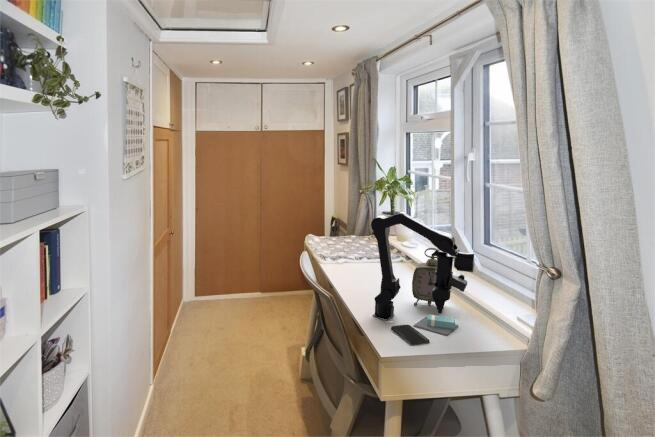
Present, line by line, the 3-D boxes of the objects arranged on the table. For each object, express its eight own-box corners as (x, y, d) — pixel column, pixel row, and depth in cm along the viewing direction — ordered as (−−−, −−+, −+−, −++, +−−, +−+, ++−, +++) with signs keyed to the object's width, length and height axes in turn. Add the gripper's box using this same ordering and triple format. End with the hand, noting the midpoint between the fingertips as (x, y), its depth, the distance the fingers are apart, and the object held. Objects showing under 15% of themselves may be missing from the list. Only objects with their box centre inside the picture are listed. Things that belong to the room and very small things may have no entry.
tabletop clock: (410, 307, 189) (414, 248, 185) (412, 300, 198) (416, 244, 194) (446, 312, 185) (451, 252, 181) (447, 304, 193) (452, 247, 189)
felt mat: (413, 326, 169) (413, 325, 169) (425, 317, 178) (425, 316, 178) (447, 335, 162) (447, 334, 161) (458, 326, 170) (458, 325, 170)
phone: (408, 324, 169) (430, 341, 155) (408, 327, 169) (430, 344, 155) (389, 326, 166) (410, 343, 152) (389, 329, 166) (410, 346, 153)
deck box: (427, 319, 168) (455, 322, 166) (428, 314, 173) (455, 317, 171) (427, 325, 169) (454, 329, 166) (427, 320, 174) (454, 324, 171)
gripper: (466, 278, 155) (462, 321, 158) (467, 264, 173) (464, 304, 175) (433, 274, 158) (430, 316, 161) (437, 261, 176) (434, 300, 179)
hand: (440, 309), depth 169 cm, fingers open, 9 cm apart
